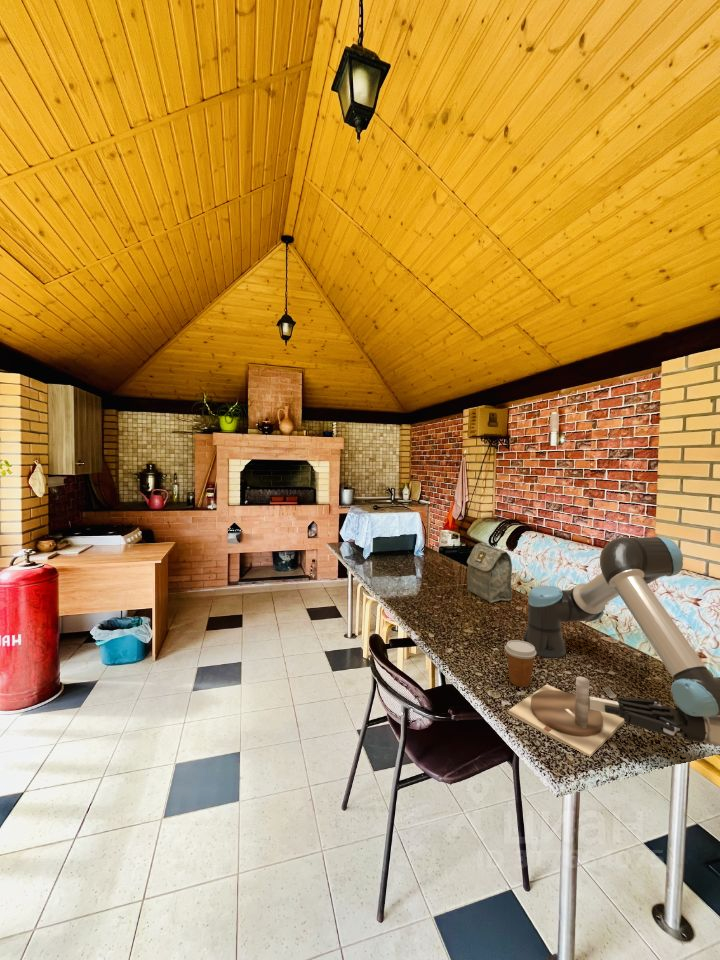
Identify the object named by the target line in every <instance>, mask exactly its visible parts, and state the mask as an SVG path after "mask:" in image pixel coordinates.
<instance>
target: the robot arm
mask: <svg viewBox="0 0 720 960" xmlns="http://www.w3.org/2000/svg"><path fill="white" fill-rule="evenodd" d="M683 561H684V558H683V553H682V550H681V549H680V547H679V545H678V544H677V543H676V542H675V541H673V540H672V539H670V538H667V537H663V536H651V537H645V536H644V537H618V538H615V539H612V540H610V541H608V542H607V543H606V544H605V546H604V547H602V550H601V552H600V555H599V566H600V567H599V568H600V570H601V571H600V573H599V574H598V575H596V576H595V577H594V578H593V579H591V580H590V581H588V582H587V583H578V584H576V585H575V586H574V587H573V588H571V589H565V590H562V589H561V588H560V587H557V586H554V585H538V586H534V587H532V588H531V589H530V590H529V592H528V599H527V602H528V604H527V605H528V607H527V608H528V610H527V612H528V613H527V614H528V615H527V627H526V630H525V632H524V635H523V637H522V641H525V642H528V643H530V644H532V645H533V646H534V647H535V650H536V655H535V656H540V657H542V658H550V659H551V658H554V659H555V658H560V657H563V656H565V655H566V651H567V650H566V649H567V647H566V642H565V639H564V637H563V634H562V623H567V622H570V623H571V622H573V623H574V622H593V621H597V620H599V619H601V618H602V617H603V615H604V613H605V612H604V611H605V609H606V604H607V603H609V602H610V601H612V600H614V599H616V598H617V597H619V596H620V598H621V600H622V601H623V603H624V604H625V606H626V607H627V609H628V611H629V612H630V613H631V615H632V617H633V618H634V619H635V621H636V623H637V624H638V626H639V628H640V630H642V632H643V634H644V635H645V637H646V639H647V640H648V641H649V644H650V645H651V646H652V648H653V649H654V651H655V652H656V654H657V656H658V657H659V659H660V660H661V662H662V664H663V665H664V666H665V669H666V670H667V671H668V673H669V674H670V676H671V677H672V679H673V681H674V682H672V684H671V687H670V692H671V694H672V696H673V697H672V699H673V702H674V703H675V705H676V708H673V707H670V706H668V705H662V704H661V703H660V701H659V699H657V698H640V697H639V698H636V697H627V696H626V697H624V696H619V697H618V700H617V701H616V700H611V699H605V698H601V697H596V696H595V697H594V696H590V695H589V708H590V709H591V710H596V711H601V712H605V713H610V714H614V715H616V716H619V717H621V718H623V719H624V721H625V723H627V724H629V725H633V726H636V727H639V728H642V729H646V730H648V731H652V732H655V733H658V734H661V735H663V736H665V737H667V738H669V739H675V734H680V736H681V737H682V738H683V739H684V740H688V741H693V742H697V743H703V742H704V743H706V744H707V745H712V746H715V747H720V676H719V677H718V676H715V677H714V675H713V674H712V673H711V672H710V670H709V669H708V668H707V667H706V665H705V664H704V662H703V660H702V659H701V658H700V657H699V655H698V653H696V651H695V649H694V648H693V646H692V645H691V644H690V642H689V641H688V639H687V638H686V637H685V635H684V634H683V633H682V631H681V630H680V628H679V627H678V626H677V624H676V623H675V622H674V620H673V618H672V617H671V616H670V614H669V613H668V611H667V610H666V609H665V607H664V606H663V604H662V603H661V601H660V600H659V598H658V597H657V596H656V594H655V593H654V591H653V590H652V589H651V587H650V586H649V584H651V583H652V582H654V581H656V580H658V579H659V578H662V577H672V576H676V575H678V574H679V573H680V572H681V571H682V569H683V566H684V562H683Z"/></svg>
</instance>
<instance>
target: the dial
mask: <svg viewBox="0 0 720 960" xmlns="http://www.w3.org/2000/svg"><path fill="white" fill-rule="evenodd" d="M589 693H590V680H589V679H588V678H587V677H584V676H577V677H576V678H575V693H571V692H569V691H567V692H566V691H563V690H561V691H557V690H544V691H540V692H537V693H535V694H534V695H533V696H532V698H531V709H532V711H533V713H534V714H535V716H536V717H537V718H538V719H539V720H540V721H542V722H543V723H545V724H546V725H548V726H550V727H552V728H554V729H556V730H558V731H561V732H564V733H568V734H573V735H583V736H584V735H592V734H596V733H598V732H599V731H600V730H601V729H602V727H603V716H602V714H601V712H600V711H596V710H591V709H590V708H589V696H590V694H589Z"/></svg>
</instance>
